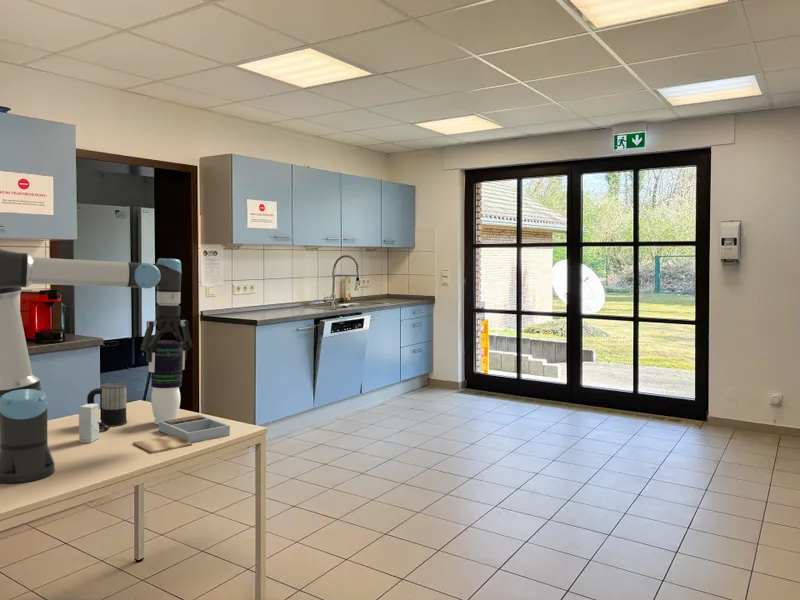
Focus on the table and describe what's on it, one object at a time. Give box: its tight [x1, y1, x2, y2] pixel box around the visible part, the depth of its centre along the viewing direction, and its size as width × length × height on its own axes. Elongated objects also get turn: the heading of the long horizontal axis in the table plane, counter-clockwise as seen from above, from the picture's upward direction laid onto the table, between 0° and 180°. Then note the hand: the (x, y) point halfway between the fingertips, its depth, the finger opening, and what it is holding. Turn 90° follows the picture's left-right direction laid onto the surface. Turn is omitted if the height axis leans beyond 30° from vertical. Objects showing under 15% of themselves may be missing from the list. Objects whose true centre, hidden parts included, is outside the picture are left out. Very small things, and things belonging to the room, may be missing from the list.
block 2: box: [178, 416, 193, 423], centre depth 229 cm, size 4×4×4 cm
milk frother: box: [86, 382, 129, 431], centre depth 230 cm, size 14×16×15 cm
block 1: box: [166, 419, 181, 425], centre depth 226 cm, size 4×4×4 cm
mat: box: [132, 435, 193, 454], centre depth 209 cm, size 14×14×1 cm
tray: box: [158, 414, 231, 443], centre depth 225 cm, size 16×22×3 cm
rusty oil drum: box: [150, 339, 183, 388], centre depth 209 cm, size 10×10×15 cm
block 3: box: [188, 414, 204, 421], centre depth 232 cm, size 4×4×4 cm
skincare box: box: [78, 403, 100, 444], centre depth 212 cm, size 6×4×12 cm
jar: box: [150, 387, 181, 426], centre depth 237 cm, size 11×10×15 cm
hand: (166, 370), depth 209 cm, fingers closed on rusty oil drum, 10 cm apart
